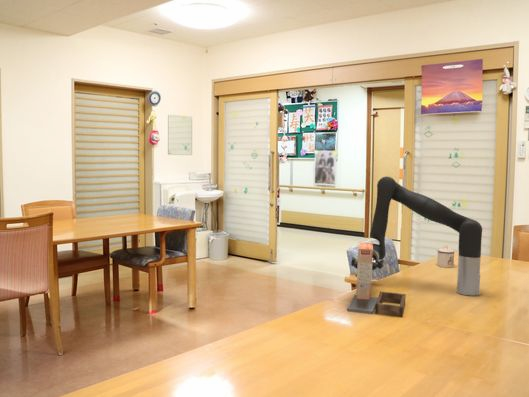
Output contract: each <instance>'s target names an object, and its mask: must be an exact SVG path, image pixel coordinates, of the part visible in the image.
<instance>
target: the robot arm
mask: <svg viewBox="0 0 529 397" xmlns="http://www.w3.org/2000/svg"><path fill="white" fill-rule="evenodd" d="M392 200H393V201H395V202H397V203H399V204H401V205H403V206H405V207H406V208H408V209H409V210H411V211H412V212H414V213H416V214H417V215H418V216H420V217H423V218H425V219H427V220H428V221H431V222H435V223H437V224H440V225H443V226H446V227H448V228H451V229H452V230H454V231H455V232H457V233H459V234H458V258H457V261H458V262H457V276H456V277H457V280H456V293H458V294H460V295H463V296H473V297H474V296H480V288H481V286H480V285H481V259H482V258H481V256H482V240H483V239H482V236H483V234H482V233H483V227H482V224H481V223H480V222H479V221H477V220H476V219H472V218H469V217H467V216H464V215H462V214H459V213H458V212H455V211H454V210H452V209H451V208H449V207H447V206H446V205H444V204H442V203H440V202H439V201H437V200H435V199H433V198H431V197H428V196H426V195H424V194H421V193H419V192H414V191H412V190H409V189H408V188H406V187H404V186H403V185H401V184H399V183H398V182H397V181H396V179H394V178H393V177H391V176H388V175H387V176H383V177H381V178H379V180H378V181H377V184H376V201H375V202H376V204H375V209H374V214H373V219H372V222H371V223H372V224H371V229H370V232H369V237H370V238H373V239H374V240H376V241H377V242H378V243H379V244H377V243H373V262H372V271H374V270H377V269H378V270H381V269H382V268H384V265H385V264H384V263H385V260H384V259H385V256H386V244H385V241H386V240H385V239H386V233H387V228H388V222H389V212H390V204H391V201H392ZM350 266H351V267H353V268H355V269H356V270H357V266H358V258H357V259H356V258H355V257H354V256H353V257H351V262H350Z"/></svg>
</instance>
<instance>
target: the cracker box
mask: <svg viewBox="0 0 529 397" xmlns="http://www.w3.org/2000/svg"><path fill="white" fill-rule="evenodd" d="M373 244H374V243H372V242H361V241H360V242H359V243H358V251H357V260H358V266H357V269H356V270H357V271H356V290H355V291H356V293H355V295H356V299H362V300H370V297H371V293H372V280H373V279H372V276H373V270H372V262H373Z"/></svg>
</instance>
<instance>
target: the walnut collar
mask: <svg viewBox="0 0 529 397" xmlns="http://www.w3.org/2000/svg"><path fill="white" fill-rule="evenodd" d="M377 297H378V298H377V301H376V303H375V309H374V314H375V315H381V316H390V317H398V318H399V317H400V318H403V315H404V311H405V306H406V293H397V292H390V291H379V294H378V296H377ZM390 302H391V303H393V304H391V303H390ZM387 303H390V304H387ZM398 304H399V305H398Z"/></svg>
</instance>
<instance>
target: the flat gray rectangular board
mask: <svg viewBox="0 0 529 397" xmlns="http://www.w3.org/2000/svg"><path fill="white" fill-rule="evenodd" d="M377 298H378V296H377V297H376V296H370V300H362V299H356V294H354V296H353V298H352V299H351V301H350V302H349V305H348V306H347V308H346V312H352V313H353V312H354V313H361V314H368V315H373V314H374V313H375V303H376V301H377Z"/></svg>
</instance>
